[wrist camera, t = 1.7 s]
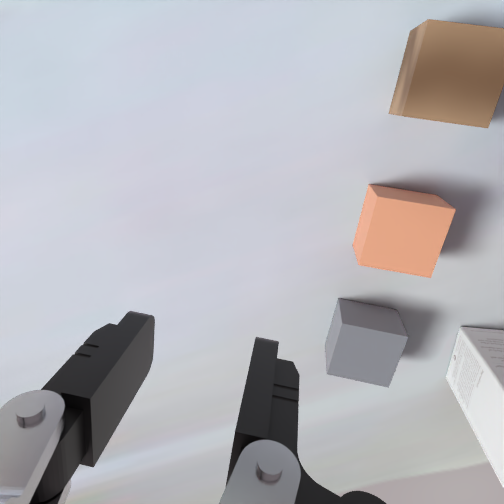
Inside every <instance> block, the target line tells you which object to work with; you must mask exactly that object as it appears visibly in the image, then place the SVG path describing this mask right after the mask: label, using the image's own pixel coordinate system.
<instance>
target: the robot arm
mask: <svg viewBox="0 0 504 504" xmlns="http://www.w3.org/2000/svg"><path fill="white" fill-rule="evenodd" d="M154 326H155V319H154V316H152V315H148V314H143V313H138V312H133V311H129V312H128V313H127V314H126V315H125V316H124V318H123V319H122V320H121V321H120V322H119V323H118V325H115V324H110V323H109V324H107V325H105V326H103V327H102V328H100V329H98V330H96V331H94V332H93V333H92V334H91V336H90V337H89V338H88V339H87V340H86V341H85V342H84V344H83V345H81V346H80V348H79V349H78V350H77V351H76V352H75V355H72V356H71V357H70V358H69V360H68V361H67V362H66V363H65V364H64V365H63V366H62V367H61V368H60V369H59V370H58V372H57V373H56V374H55V375H54V376H53V377H52V378H51V379H50V380H49V381H48V382H47V384H46V385H45V386H44V387H43V388H42V389H41V390H35V391H30V392H26V393H23V394H21V395H19V396H16V397H15V398H13V399H11V400H10V401H8V402H7V403H6V404H5V405H4V406H3V407H2V408H1V409H0V504H65V501H66V499H67V496H68V494H69V491H70V488H71V477H72V475H73V474H74V472H75V471H76V469H77V467H78V466H79V464H82V465H86V466H90V467H94V466H95V464H96V462H97V460H98V459H99V457H100V455H101V454H102V452H103V450H104V448H105V447H106V445H107V443H108V442H109V440H110V438H111V436H112V435H113V433H114V431H115V430H116V428H117V426H118V424H119V423H120V421H121V419H122V417H123V416H124V414H125V412H126V411H127V409H128V407H129V405H130V404H131V402H132V400H133V399H134V397H135V395H136V393H137V392H138V390H139V388H140V386H141V385H142V383H143V381H144V380H145V378H146V376H147V374H148V372H149V370H150V367H151V364H152V360H153V349H154ZM278 344H279V341H274V340H269V339H264V338H259V337H256V339H255V343H254V348H253V352H252V357H251V362H250V366H249V371H248V375H247V380H246V385H245V389H244V394H243V398H242V403H241V407H240V412H239V417H238V421H237V426H236V430H235V436H234V442H233V448H232V453H231V459H230V465H229V471H228V477H227V482H226V488H225V491H224V493H223V495H222V497H221V500H220V502H219V504H386V503H385V502H384V501H382V500H381V499H380V498H378V497H376V496H374V495H372V494H370V493H367V492H363V491H352V492H348V493H346V494H344V495H343V496H342V497H340V496H338V495H336V494H334V493H333V492H331V491H329V490H327V489H326V488H324V487H322V486H321V485H319V484H318V483H316V482H315V481H314V480H313V479H312V478H311V477H310V476H309V475H308V474H307V473H306V472H305V470H304V469H303V467H302V465H301V463H300V461H299V458H298V453H297V436H298V401H299V373H298V371H297V369H296V367H295V365H294V363H293V362H292V361H287V360H282V359H277V352H278Z"/></svg>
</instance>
